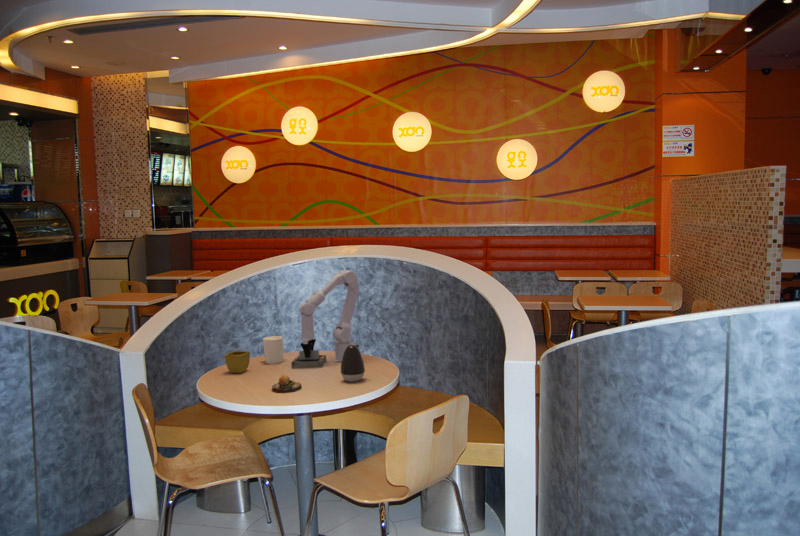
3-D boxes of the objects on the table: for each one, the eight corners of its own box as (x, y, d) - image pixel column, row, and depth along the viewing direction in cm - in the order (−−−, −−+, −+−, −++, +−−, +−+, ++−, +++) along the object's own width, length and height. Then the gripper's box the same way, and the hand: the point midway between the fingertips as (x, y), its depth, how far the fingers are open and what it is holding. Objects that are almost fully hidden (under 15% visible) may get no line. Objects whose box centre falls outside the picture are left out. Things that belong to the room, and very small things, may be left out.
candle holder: (260, 364, 299) (259, 339, 299) (270, 359, 309) (269, 336, 308) (278, 364, 297) (277, 340, 296) (288, 360, 306) (286, 336, 305)
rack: (326, 361, 300) (326, 354, 300) (321, 367, 287) (321, 360, 286) (298, 361, 301) (297, 355, 301) (291, 368, 287) (291, 361, 287)
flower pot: (224, 374, 281) (223, 354, 281) (234, 369, 290) (233, 350, 289) (242, 374, 279) (241, 355, 278) (251, 370, 288) (250, 351, 287)
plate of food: (307, 389, 251) (306, 371, 250) (282, 395, 243) (281, 376, 242) (290, 384, 259) (289, 366, 259) (266, 390, 251) (265, 372, 251)
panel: (319, 362, 295) (318, 349, 294) (318, 363, 293) (317, 350, 292) (300, 362, 295) (299, 350, 294) (299, 363, 293) (299, 351, 292)
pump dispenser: (369, 378, 263) (368, 343, 262) (357, 384, 254) (355, 347, 253) (349, 376, 268) (347, 341, 267) (336, 382, 258) (334, 346, 257)
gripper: (302, 325, 300) (303, 353, 301) (295, 330, 286) (297, 359, 286) (316, 325, 300) (318, 352, 301) (311, 330, 285) (312, 359, 286)
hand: (309, 356), depth 293 cm, fingers open, 6 cm apart
